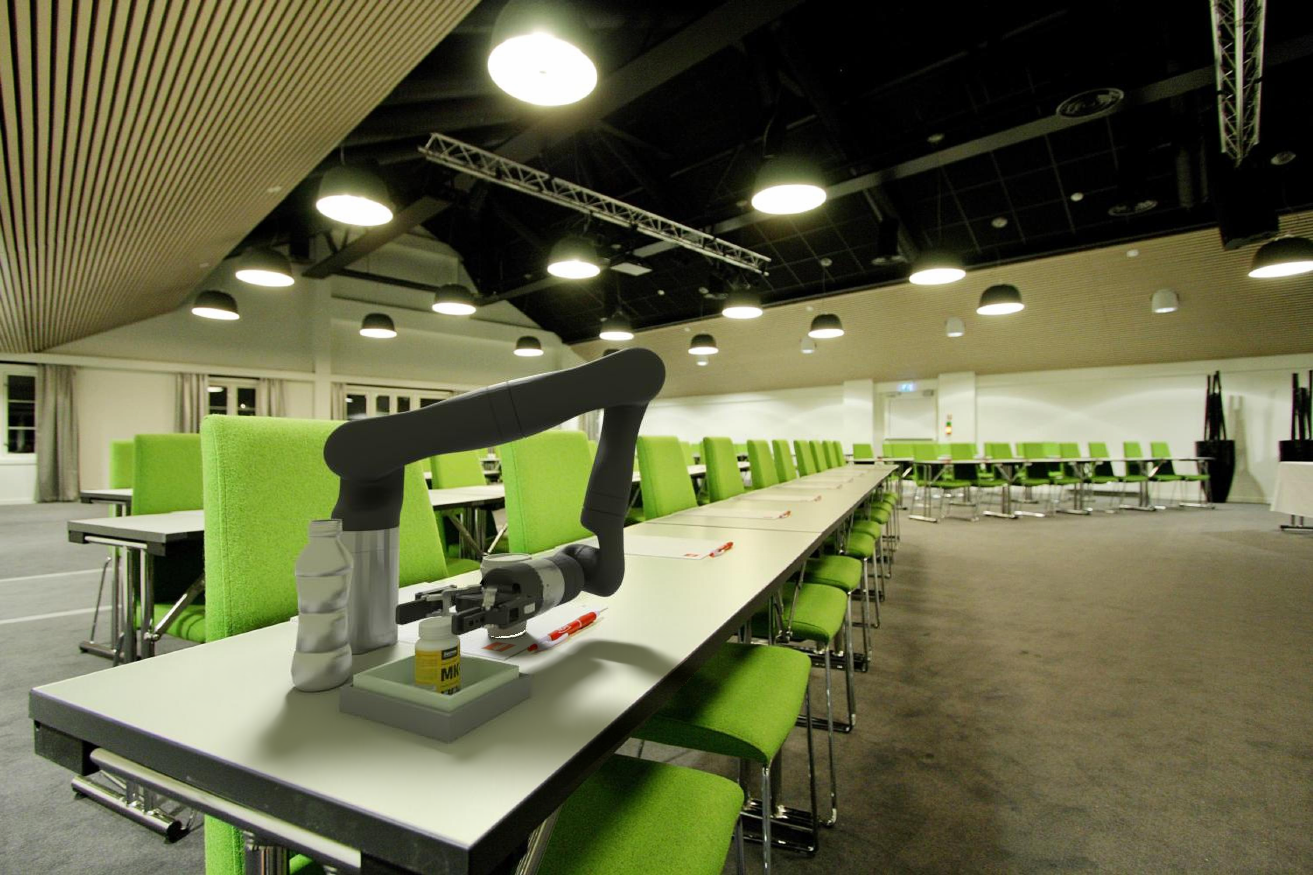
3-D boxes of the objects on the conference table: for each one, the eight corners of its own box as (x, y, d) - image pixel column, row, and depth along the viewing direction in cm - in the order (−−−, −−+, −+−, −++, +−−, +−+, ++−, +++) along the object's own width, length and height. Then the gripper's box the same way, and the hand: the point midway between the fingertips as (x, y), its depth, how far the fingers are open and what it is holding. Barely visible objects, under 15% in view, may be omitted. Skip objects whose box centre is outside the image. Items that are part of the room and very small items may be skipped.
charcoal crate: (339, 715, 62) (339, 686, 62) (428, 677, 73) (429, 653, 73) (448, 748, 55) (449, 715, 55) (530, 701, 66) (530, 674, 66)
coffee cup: (531, 623, 97) (531, 551, 97) (537, 638, 89) (538, 559, 89) (477, 628, 94) (478, 554, 95) (479, 644, 86) (480, 562, 87)
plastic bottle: (287, 703, 65) (291, 524, 66) (293, 682, 71) (297, 519, 72) (352, 692, 68) (355, 521, 69) (352, 673, 74) (355, 516, 75)
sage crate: (352, 708, 63) (353, 674, 63) (428, 677, 72) (428, 647, 72) (449, 736, 56) (449, 698, 56) (518, 698, 65) (519, 665, 65)
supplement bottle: (445, 709, 61) (444, 628, 61) (405, 705, 62) (405, 626, 62) (468, 690, 66) (468, 616, 66) (431, 687, 67) (431, 614, 67)
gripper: (482, 557, 80) (380, 579, 66) (567, 566, 74) (474, 592, 60) (482, 612, 80) (379, 646, 66) (567, 625, 74) (474, 666, 59)
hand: (424, 620), depth 63 cm, fingers open, 8 cm apart
